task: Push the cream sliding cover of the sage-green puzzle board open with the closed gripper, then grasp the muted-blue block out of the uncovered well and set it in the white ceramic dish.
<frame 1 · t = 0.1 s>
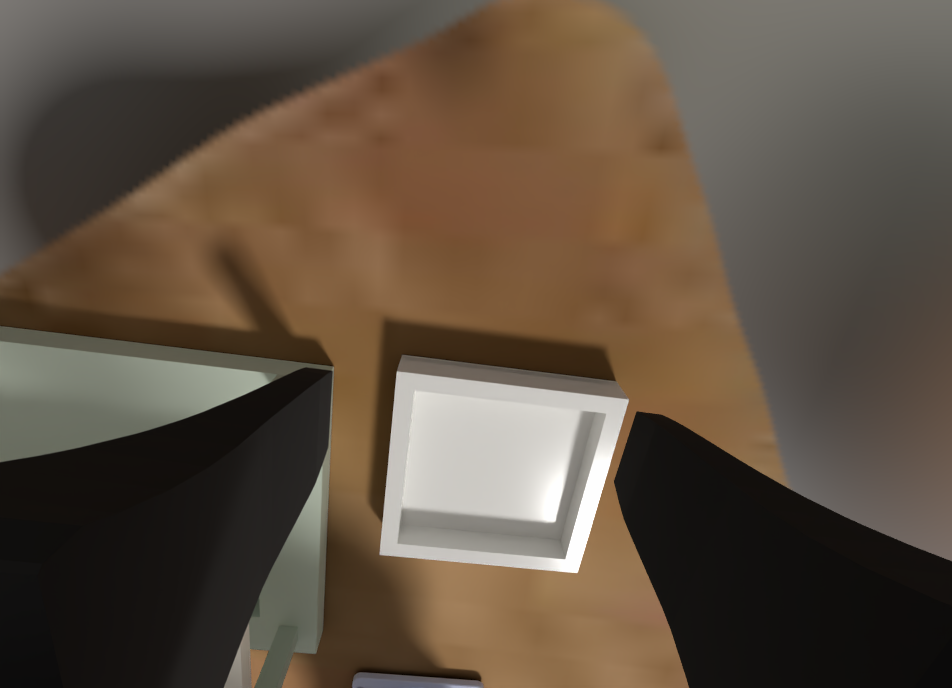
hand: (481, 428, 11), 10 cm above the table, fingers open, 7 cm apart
dish: (493, 459, 23), on the table
puzzle board: (151, 535, 24), on the table
cover: (46, 662, 18), point 7 cm above the table, slide at 0.0 cm
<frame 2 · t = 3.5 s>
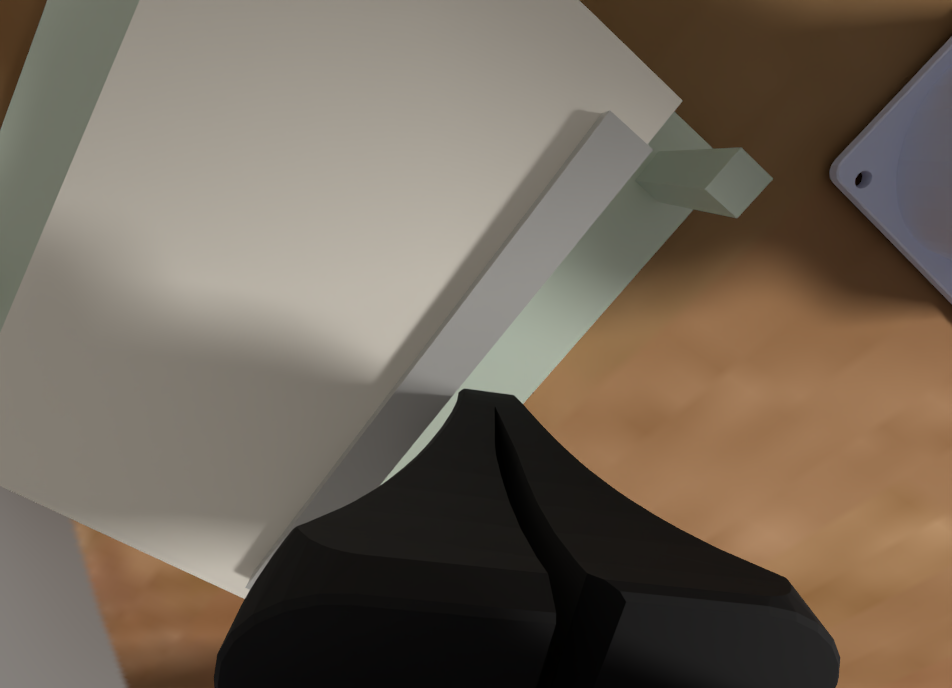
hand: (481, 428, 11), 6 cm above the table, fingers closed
puzzle board: (395, 278, 16), on the table
cover: (272, 300, 9), point 7 cm above the table, slide at 1.9 cm, touching gripper
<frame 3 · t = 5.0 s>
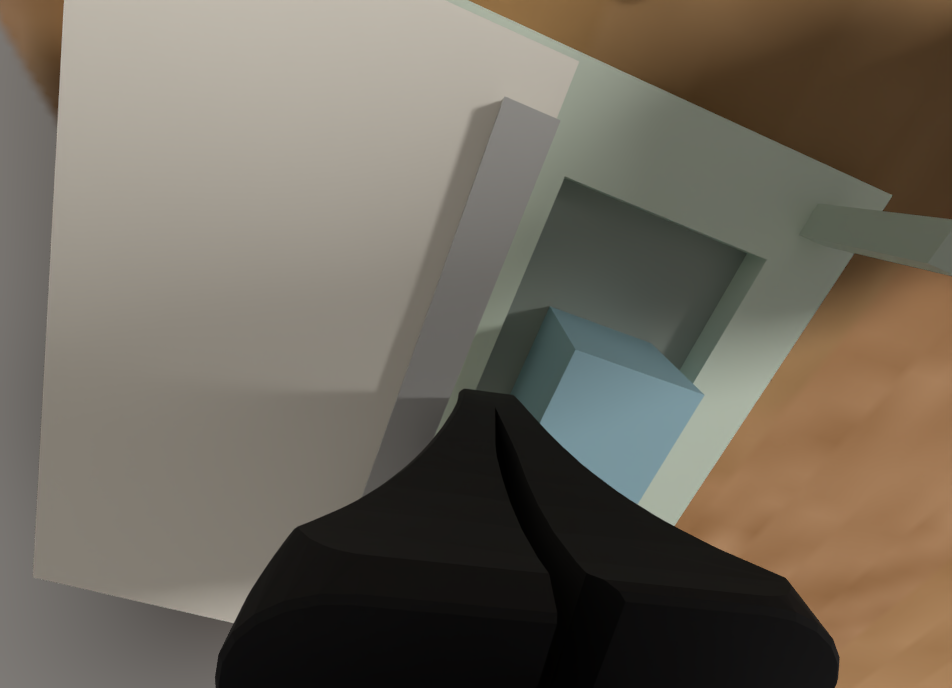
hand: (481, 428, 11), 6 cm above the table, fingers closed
block: (577, 373, 17), resting on puzzle board
puzzle board: (575, 370, 17), on the table
cover: (256, 366, 10), point 7 cm above the table, slide at 9.1 cm, touching gripper
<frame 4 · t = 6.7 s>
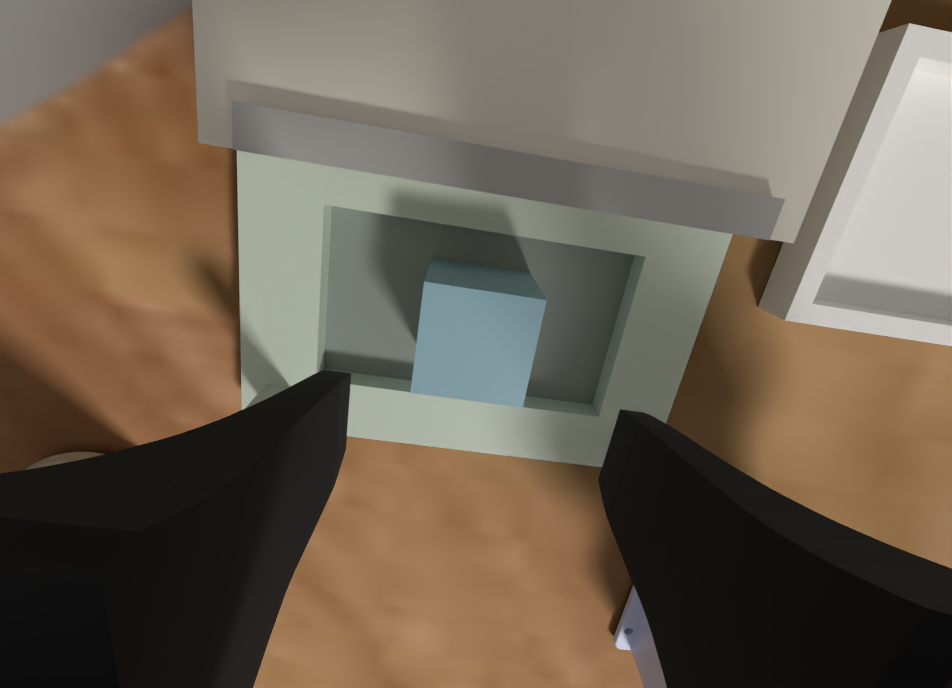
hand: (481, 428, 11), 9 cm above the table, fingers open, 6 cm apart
dish: (922, 206, 19), on the table
block: (473, 312, 19), resting on puzzle board
stacking toy: (114, 509, 23), on the table
puzzle board: (473, 310, 20), on the table
cover: (545, 7, 10), point 7 cm above the table, slide at 9.1 cm
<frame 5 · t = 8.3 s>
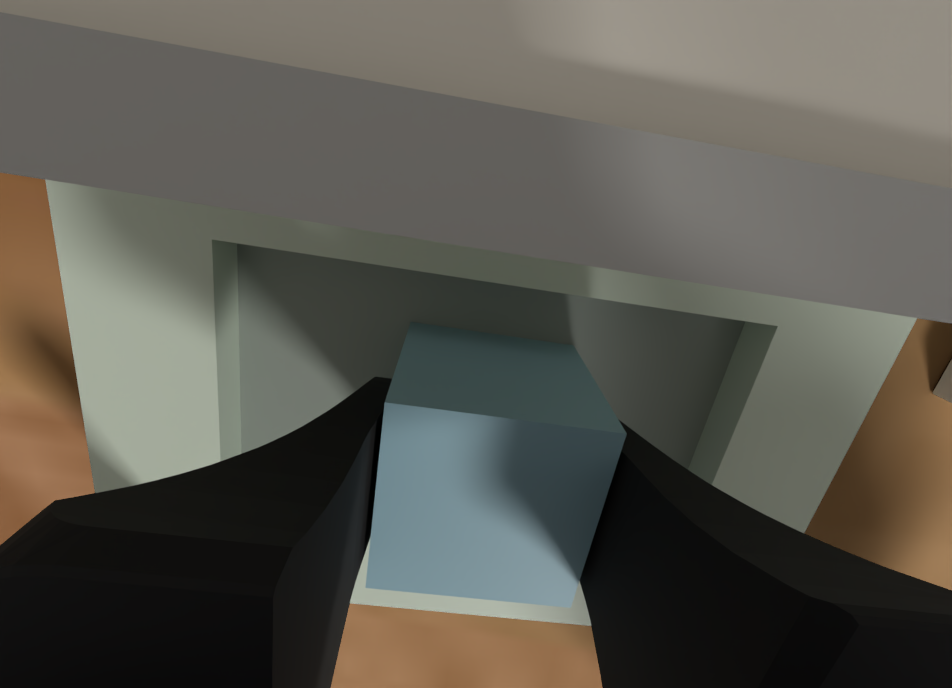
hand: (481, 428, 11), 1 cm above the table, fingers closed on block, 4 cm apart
block: (479, 406, 12), resting on puzzle board, touching gripper
puzzle board: (479, 400, 12), on the table
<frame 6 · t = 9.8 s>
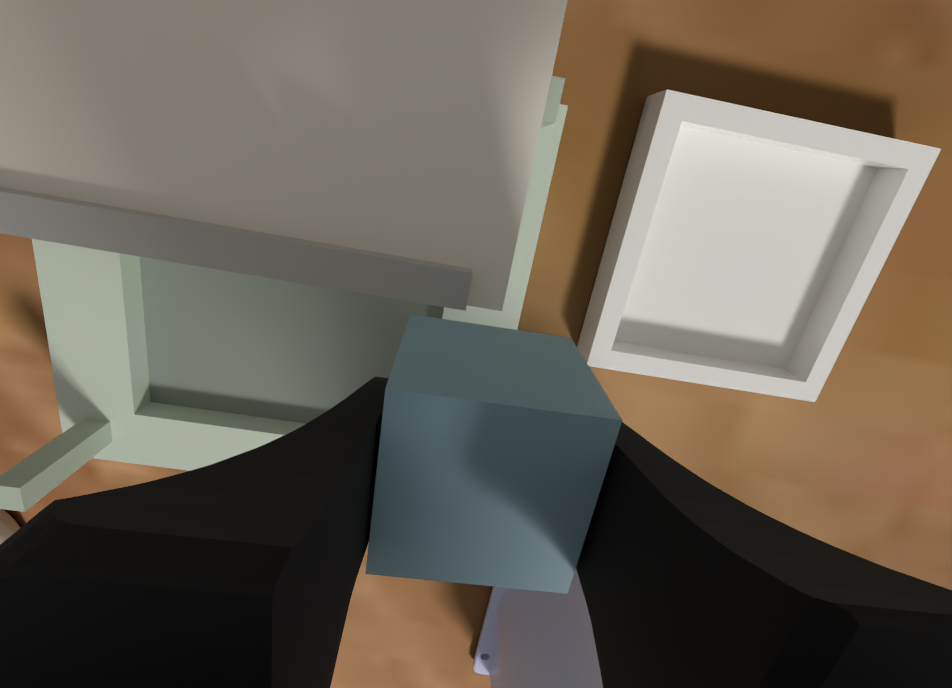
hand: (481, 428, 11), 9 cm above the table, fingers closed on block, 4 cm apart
dish: (725, 256, 19), on the table
block: (478, 398, 12), point 8 cm above the table, touching gripper
puzzle board: (295, 347, 20), on the table
cover: (215, 90, 11), point 7 cm above the table, slide at 9.1 cm
when the fingers open (3 cm above the table, at t = 11.7 s): block drops 1 cm, resting on dish.
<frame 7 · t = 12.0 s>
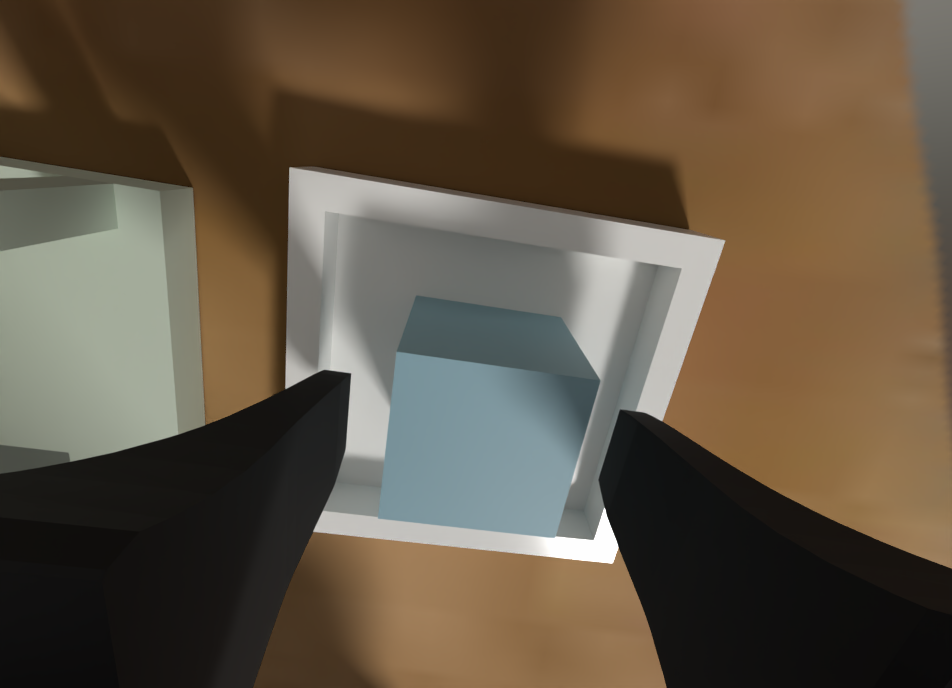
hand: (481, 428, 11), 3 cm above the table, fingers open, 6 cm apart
dish: (477, 371, 14), on the table
block: (477, 372, 13), resting on dish
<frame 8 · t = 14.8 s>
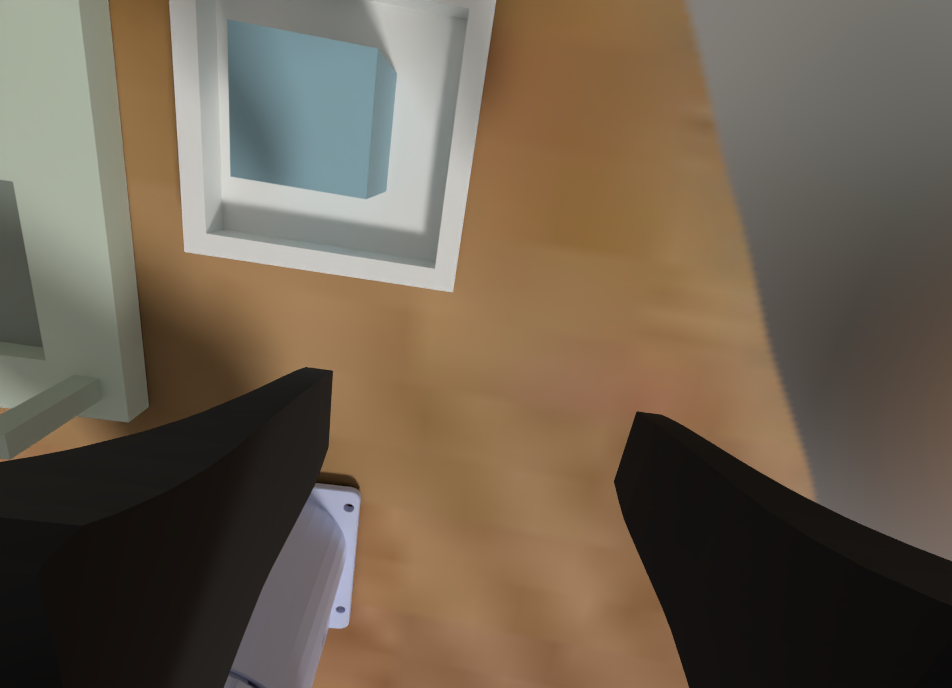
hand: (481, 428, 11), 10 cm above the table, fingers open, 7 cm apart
dish: (340, 132, 18), on the table
block: (336, 125, 17), resting on dish
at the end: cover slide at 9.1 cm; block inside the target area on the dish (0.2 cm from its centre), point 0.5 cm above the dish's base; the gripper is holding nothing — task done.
